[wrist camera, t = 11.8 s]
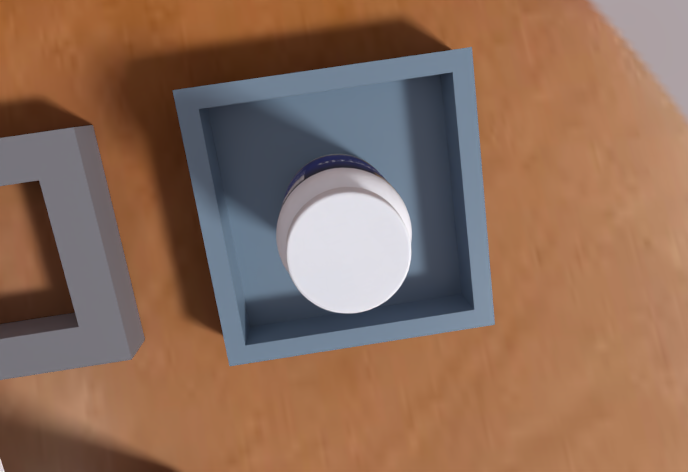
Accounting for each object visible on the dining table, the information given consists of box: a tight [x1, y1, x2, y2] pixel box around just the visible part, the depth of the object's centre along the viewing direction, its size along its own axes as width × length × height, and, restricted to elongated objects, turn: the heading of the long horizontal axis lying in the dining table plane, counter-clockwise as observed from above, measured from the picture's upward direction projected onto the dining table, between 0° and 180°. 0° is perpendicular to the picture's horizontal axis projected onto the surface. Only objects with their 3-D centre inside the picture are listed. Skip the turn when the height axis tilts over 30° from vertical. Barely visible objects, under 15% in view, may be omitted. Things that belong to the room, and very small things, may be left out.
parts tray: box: [173, 47, 495, 366], centre depth 30 cm, size 14×14×3 cm
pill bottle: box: [276, 154, 412, 313], centre depth 26 cm, size 6×6×10 cm
